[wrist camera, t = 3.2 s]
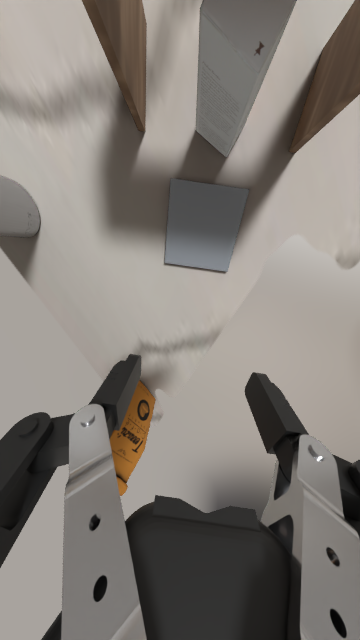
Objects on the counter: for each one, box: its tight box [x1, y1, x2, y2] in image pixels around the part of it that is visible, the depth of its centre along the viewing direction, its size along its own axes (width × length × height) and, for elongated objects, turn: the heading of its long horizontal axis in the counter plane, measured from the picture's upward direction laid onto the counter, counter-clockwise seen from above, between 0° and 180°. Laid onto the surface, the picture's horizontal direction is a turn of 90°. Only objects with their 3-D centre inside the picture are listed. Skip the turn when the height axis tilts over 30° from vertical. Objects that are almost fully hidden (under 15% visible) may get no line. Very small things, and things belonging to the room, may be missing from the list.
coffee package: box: [110, 380, 155, 496], centre depth 39 cm, size 10×12×22 cm
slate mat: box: [165, 178, 249, 272], centre depth 27 cm, size 13×13×1 cm
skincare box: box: [196, 0, 297, 157], centre depth 16 cm, size 6×4×12 cm
